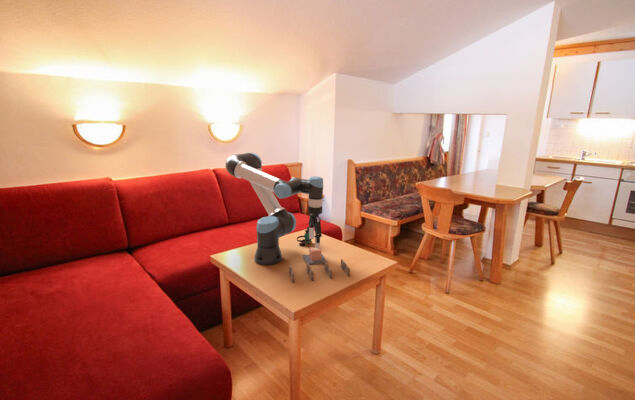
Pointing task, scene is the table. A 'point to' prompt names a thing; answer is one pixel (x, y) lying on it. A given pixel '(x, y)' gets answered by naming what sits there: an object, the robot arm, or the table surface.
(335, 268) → the table surface
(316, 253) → the letter cube
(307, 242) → the binoculars
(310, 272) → the bay rack
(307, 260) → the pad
